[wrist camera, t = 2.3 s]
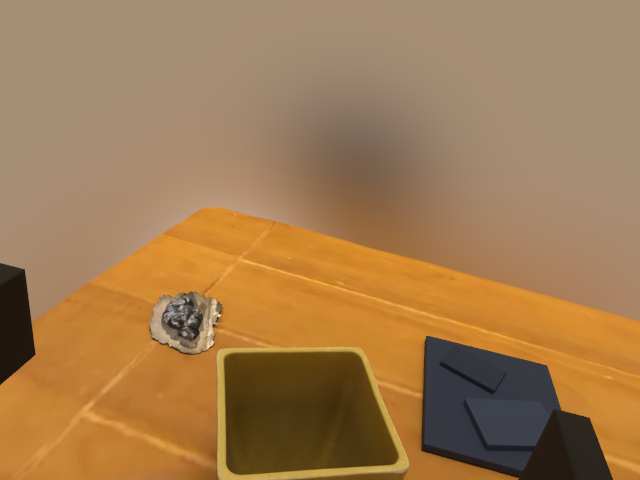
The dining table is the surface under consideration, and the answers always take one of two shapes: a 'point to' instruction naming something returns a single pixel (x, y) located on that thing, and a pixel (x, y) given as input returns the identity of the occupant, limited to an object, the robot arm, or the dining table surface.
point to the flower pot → (303, 417)
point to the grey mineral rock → (185, 321)
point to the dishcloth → (484, 405)
